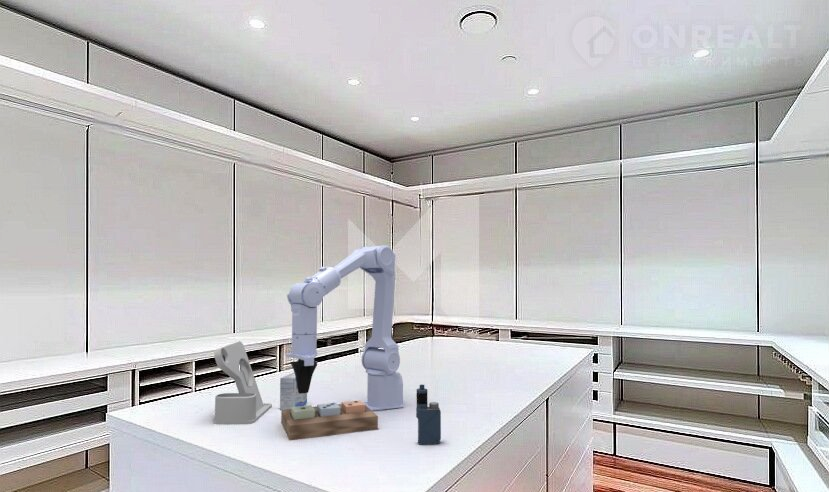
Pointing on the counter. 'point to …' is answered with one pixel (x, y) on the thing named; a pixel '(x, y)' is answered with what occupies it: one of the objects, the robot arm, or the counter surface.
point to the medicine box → (290, 393)
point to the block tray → (328, 424)
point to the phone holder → (248, 400)
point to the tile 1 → (302, 412)
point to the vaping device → (427, 419)
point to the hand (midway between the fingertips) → (303, 392)
